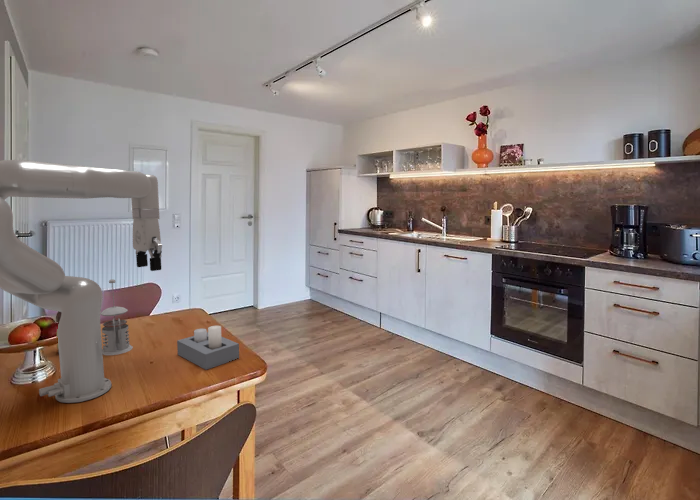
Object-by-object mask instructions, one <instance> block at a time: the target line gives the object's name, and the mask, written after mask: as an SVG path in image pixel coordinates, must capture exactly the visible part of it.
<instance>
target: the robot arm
mask: <svg viewBox="0 0 700 500" xmlns="http://www.w3.org/2000/svg"><path fill="white" fill-rule="evenodd" d="M11 197H15V198H38V199H39V198H42V199H43V198H48V199H50V198H51V199H85V200H86V199H97V198H98V199H99V198H100V199H101V198H103V199H104V198H114V199H131V200H130V201H131V213H132V214H131V215H132V220H133V222H132V248H133V249H134V250H135V258H136V267H137V268H142V267H143V268H144V267H148V265H149V270H150V271H151V272H153V271H154V272H155V271H161V270H162V251H163V250H162V248H163V244H162V243H161V231H160V224H159V220H160V219H161V218H160V202H159V201H160V200H159V181H158V177H157V176H156V175H154V174H145V173H143V172H141V171H133V170H125V169H114V168H102V167H96V166H95V167H92V166H88V165H87V166H85V165H76V164H75V165H74V164H67V163H66V164H65V163H55V162H48V161H46V162H45V161H36V160H30V159H29V160H28V159H27V160H26V159H5V160H3V159H2V160H0V289H1V290H3V292H4V291H5V292H6V293H8V294H11V295H12V296H15V297H16V298H18V299H21V300H23V301H25V302H27V303H30V304H32V305H34V306H36V307H39V308H41V309H43V310H49V311H52V312H53V311H54V312H58V311H59V312H61V313H62V314H61V318H60V321H59V324H58V329H57V332H56V338H57V337H58V347H59V353H58V356H59V357H58V358H59V368H60V378H57V382H55V383H54V384H53V385H49V386H45V387H42V388H39V389H38V393H39V394H38V395H39V397H43V396H47V397H48V398H50V397H55V400H56V401H58V402H60V403H64V404H66V403H67V404H70V403H71V404H72V403H73V404H74V403H80V402H81V403H82V402H85V401H89V400H92V399H95V398H98V397H100V396H102V395H104V394H106V393H107V392H108V391H110V389H111V388H112V381H111V380H110V379H109V378H106V377H105V371H104V370H105V369H104V355H103V354H102V349H103V339H102V328H101V314H100V313H101V312H102V305H103V304H102V303H103V296H104V295H103V290H102V288H101V286H100V285H99V284H98V283H97V282H95V281H94V280H92V279H89V278H86V277H80V276H72V275H66V274H65V271H64V270H63V268H62V266H61V265H60V264H59V263H58V262H56V261H54V259H52V258H50V257H48V256H45V255H44V254H42V253H40V252H39V251H37V250H36V249H34V248H32V247H30V246H28V245H27V244H26V243H24V242H23V241H21V240H20V239H19V238H18V237H17V236H16V234H15V231H14V215H13V210H12V207H11V206H10V204H9V203H8V202H7V201H6V199H8V198H11ZM147 252H148V253H149V256H150V258H149V261H148V254H147ZM148 263H149V264H148Z"/></svg>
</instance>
